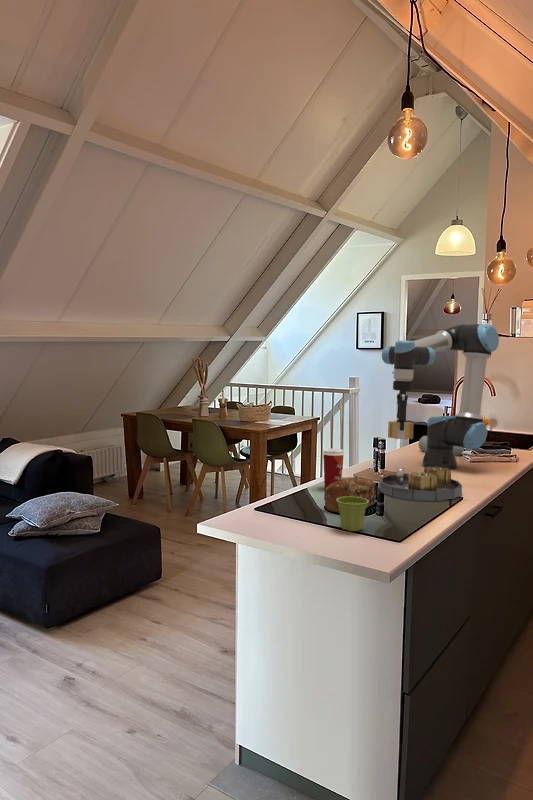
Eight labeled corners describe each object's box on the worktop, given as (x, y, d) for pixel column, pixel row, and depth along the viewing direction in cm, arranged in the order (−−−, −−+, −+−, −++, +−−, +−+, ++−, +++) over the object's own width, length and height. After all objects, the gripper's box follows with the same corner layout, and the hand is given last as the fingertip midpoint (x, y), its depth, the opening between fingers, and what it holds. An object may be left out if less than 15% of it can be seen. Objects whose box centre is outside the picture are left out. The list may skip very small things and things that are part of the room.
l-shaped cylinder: (423, 454, 303) (464, 455, 302) (423, 433, 305) (464, 434, 303) (417, 456, 321) (456, 457, 319) (417, 436, 322) (455, 436, 321)
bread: (350, 516, 196) (351, 485, 195) (322, 510, 202) (322, 480, 201) (377, 504, 210) (378, 476, 209) (350, 499, 217) (351, 472, 216)
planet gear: (411, 436, 245) (412, 421, 244) (413, 439, 236) (414, 424, 235) (387, 435, 246) (388, 420, 246) (388, 438, 237) (389, 423, 237)
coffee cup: (342, 492, 227) (343, 452, 226) (320, 490, 229) (321, 451, 228) (344, 487, 235) (345, 448, 234) (323, 485, 237) (323, 447, 236)
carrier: (400, 479, 251) (400, 461, 250) (471, 490, 233) (472, 470, 232) (365, 492, 227) (366, 472, 227) (442, 505, 210) (443, 484, 209)
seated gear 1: (415, 486, 229) (415, 470, 228) (439, 490, 223) (440, 474, 222) (404, 491, 221) (404, 475, 221) (429, 495, 215) (430, 478, 215)
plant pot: (333, 524, 186) (333, 496, 185) (363, 523, 187) (364, 495, 186) (339, 533, 177) (339, 504, 176) (371, 533, 178) (372, 503, 177)
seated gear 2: (430, 480, 240) (430, 465, 239) (453, 484, 234) (454, 468, 233) (419, 484, 232) (420, 469, 232) (444, 488, 226) (445, 472, 226)
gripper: (392, 379, 251) (389, 433, 252) (394, 380, 229) (391, 440, 230) (410, 379, 250) (408, 434, 251) (415, 381, 228) (412, 441, 229)
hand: (400, 437), depth 241 cm, fingers closed on planet gear, 10 cm apart
